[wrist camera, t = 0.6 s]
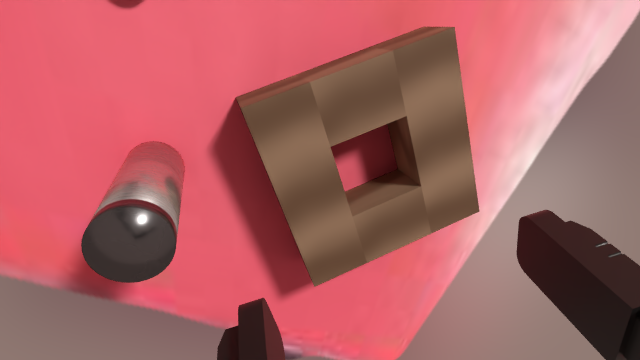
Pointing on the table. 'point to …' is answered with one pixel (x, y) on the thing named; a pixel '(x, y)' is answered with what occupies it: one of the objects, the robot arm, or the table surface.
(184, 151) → the table surface
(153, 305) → the table surface
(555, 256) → the robot arm
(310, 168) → the block
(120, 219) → the steel pin
